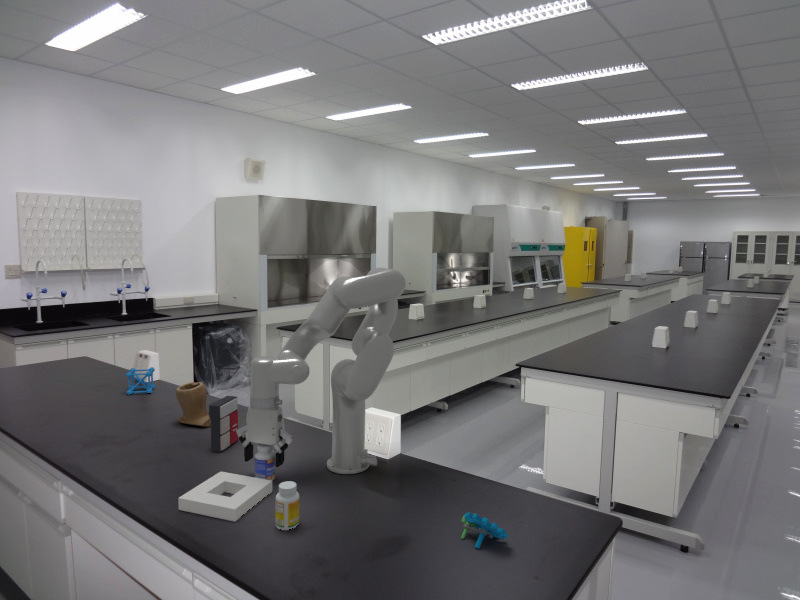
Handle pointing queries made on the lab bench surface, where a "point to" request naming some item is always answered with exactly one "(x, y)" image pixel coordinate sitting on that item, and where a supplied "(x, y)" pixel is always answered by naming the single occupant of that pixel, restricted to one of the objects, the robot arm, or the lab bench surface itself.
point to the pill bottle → (265, 462)
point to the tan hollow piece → (193, 404)
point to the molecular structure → (140, 380)
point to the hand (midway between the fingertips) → (264, 462)
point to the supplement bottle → (287, 506)
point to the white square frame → (229, 508)
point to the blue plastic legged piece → (481, 528)
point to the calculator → (223, 423)
